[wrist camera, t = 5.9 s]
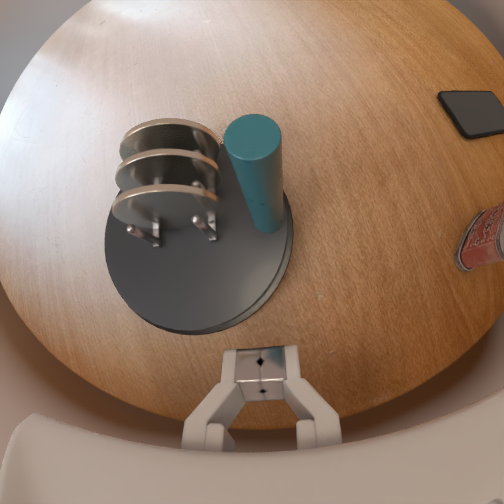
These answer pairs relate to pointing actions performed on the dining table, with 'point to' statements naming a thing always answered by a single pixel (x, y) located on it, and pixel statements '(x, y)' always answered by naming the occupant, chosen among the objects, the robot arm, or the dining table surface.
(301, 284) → the dining table surface
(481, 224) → the lighter
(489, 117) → the smartphone
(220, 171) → the dish rack
